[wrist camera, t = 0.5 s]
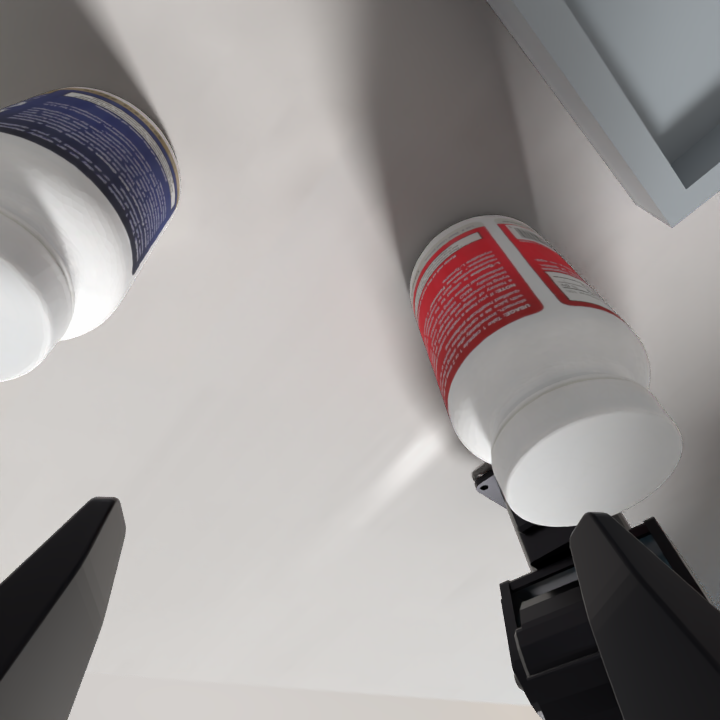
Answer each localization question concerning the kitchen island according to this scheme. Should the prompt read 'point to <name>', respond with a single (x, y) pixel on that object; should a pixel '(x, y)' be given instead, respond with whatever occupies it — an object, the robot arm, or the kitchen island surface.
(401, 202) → the kitchen island surface
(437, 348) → the pill bottle
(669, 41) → the carton tray
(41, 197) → the pill bottle
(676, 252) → the kitchen island surface
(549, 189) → the kitchen island surface
